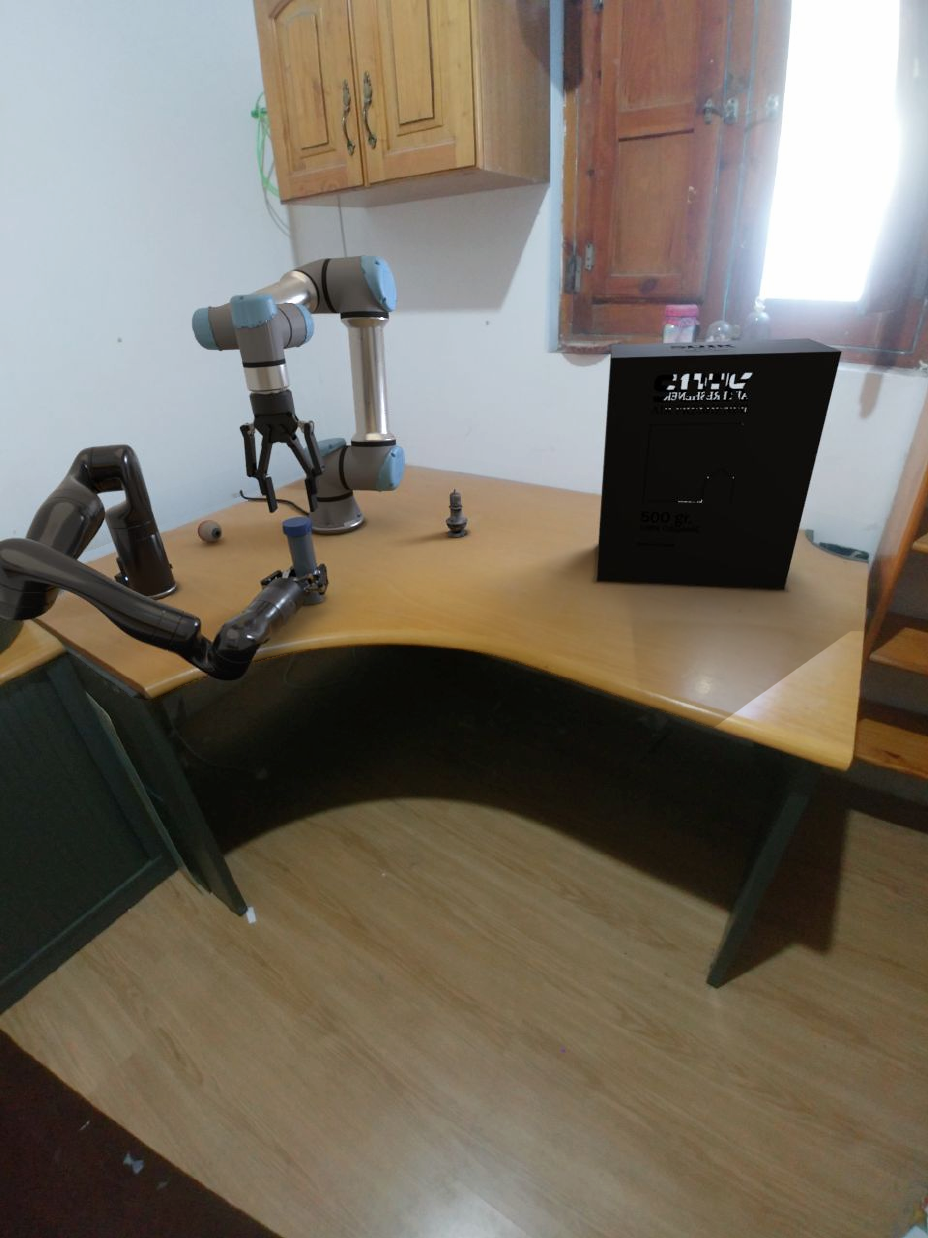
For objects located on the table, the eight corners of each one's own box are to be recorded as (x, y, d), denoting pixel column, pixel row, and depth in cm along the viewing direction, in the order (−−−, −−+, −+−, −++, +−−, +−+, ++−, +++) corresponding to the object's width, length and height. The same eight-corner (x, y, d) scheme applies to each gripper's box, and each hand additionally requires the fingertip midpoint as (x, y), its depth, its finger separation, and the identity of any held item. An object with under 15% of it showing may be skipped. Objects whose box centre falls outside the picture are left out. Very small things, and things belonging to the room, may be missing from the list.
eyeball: (211, 547, 159) (205, 526, 156) (196, 543, 162) (190, 522, 159) (229, 539, 163) (224, 518, 160) (214, 536, 166) (209, 515, 164)
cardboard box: (763, 549, 141) (808, 338, 118) (784, 589, 124) (841, 351, 101) (598, 544, 148) (611, 344, 126) (596, 581, 131) (611, 357, 109)
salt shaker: (466, 537, 156) (463, 492, 150) (444, 537, 157) (440, 492, 151) (470, 529, 161) (468, 485, 155) (449, 528, 162) (446, 485, 156)
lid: (312, 524, 126) (310, 515, 125) (312, 534, 121) (310, 524, 120) (284, 528, 125) (282, 518, 124) (283, 538, 120) (281, 528, 119)
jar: (323, 592, 133) (308, 518, 125) (323, 602, 129) (308, 526, 121) (300, 596, 133) (284, 521, 124) (300, 606, 129) (284, 529, 120)
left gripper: (246, 619, 119) (284, 581, 133) (314, 623, 116) (345, 583, 131) (237, 585, 115) (277, 550, 129) (307, 588, 112) (340, 551, 127)
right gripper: (330, 384, 112) (348, 502, 123) (224, 388, 114) (252, 504, 125) (318, 391, 105) (338, 515, 117) (206, 396, 107) (237, 517, 119)
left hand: (311, 567), depth 130 cm, fingers open, 5 cm apart
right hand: (293, 509), depth 121 cm, fingers open, 8 cm apart
